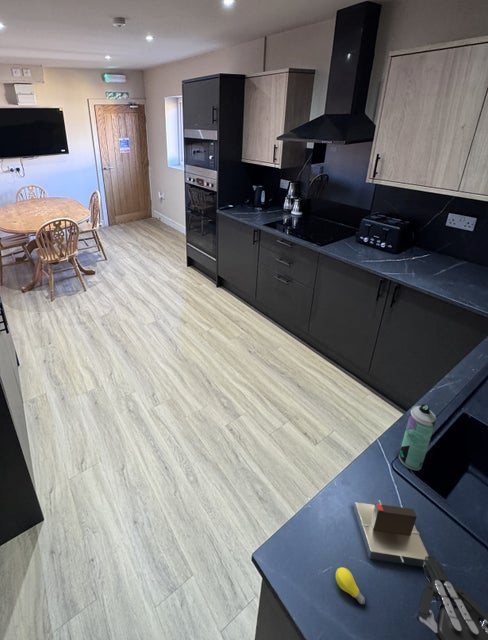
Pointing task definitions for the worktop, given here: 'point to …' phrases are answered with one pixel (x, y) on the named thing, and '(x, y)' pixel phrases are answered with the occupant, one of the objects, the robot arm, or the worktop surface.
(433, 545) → the worktop surface
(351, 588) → the light bulb
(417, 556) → the panel
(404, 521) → the brown rectangular block
